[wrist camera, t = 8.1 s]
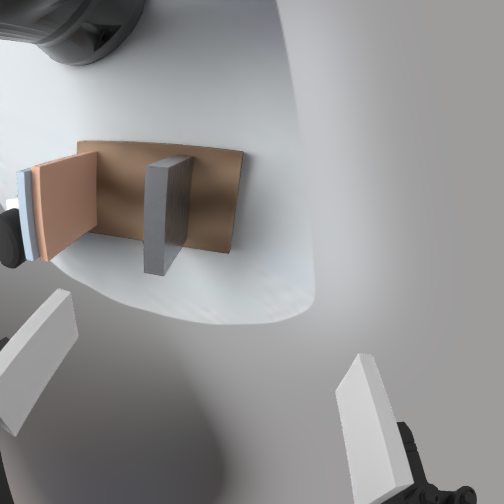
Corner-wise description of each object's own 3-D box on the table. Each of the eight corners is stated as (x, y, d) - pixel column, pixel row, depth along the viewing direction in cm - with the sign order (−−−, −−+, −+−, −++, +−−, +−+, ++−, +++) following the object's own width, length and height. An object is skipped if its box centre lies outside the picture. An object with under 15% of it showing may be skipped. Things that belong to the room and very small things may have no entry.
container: (76, 182, 34) (12, 211, 22) (83, 235, 37) (28, 279, 25) (39, 185, 34) (-23, 213, 22) (46, 234, 37) (-8, 273, 25)
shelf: (83, 140, 31) (77, 141, 30) (243, 151, 32) (242, 152, 30) (84, 226, 36) (78, 230, 35) (230, 248, 37) (228, 253, 35)
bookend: (176, 154, 31) (145, 165, 22) (193, 156, 31) (168, 167, 22) (170, 237, 35) (144, 272, 26) (186, 239, 35) (163, 276, 26)
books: (81, 151, 30) (16, 169, 19) (97, 151, 30) (32, 169, 20) (82, 222, 34) (26, 261, 23) (97, 224, 34) (42, 265, 23)
